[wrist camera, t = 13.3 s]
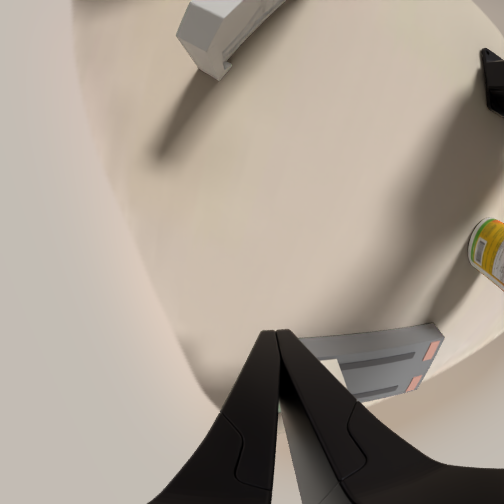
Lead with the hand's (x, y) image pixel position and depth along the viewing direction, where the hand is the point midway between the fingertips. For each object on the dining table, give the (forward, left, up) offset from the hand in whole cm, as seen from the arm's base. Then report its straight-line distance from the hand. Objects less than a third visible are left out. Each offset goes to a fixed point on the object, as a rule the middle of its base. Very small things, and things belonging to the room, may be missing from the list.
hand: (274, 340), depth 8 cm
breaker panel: (-10, +14, -12) cm, 21 cm away
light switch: (0, -15, -12) cm, 19 cm away
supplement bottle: (-22, +1, -12) cm, 25 cm away
